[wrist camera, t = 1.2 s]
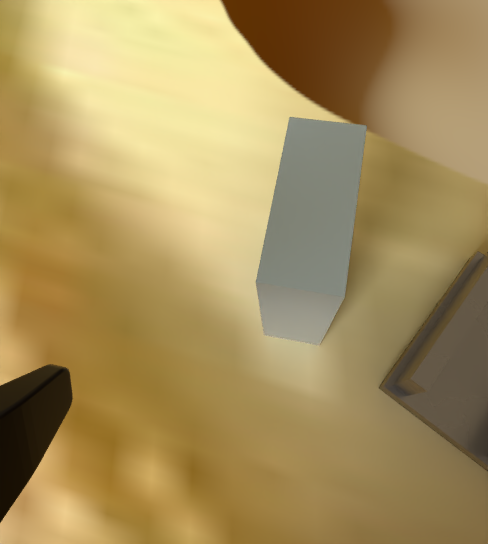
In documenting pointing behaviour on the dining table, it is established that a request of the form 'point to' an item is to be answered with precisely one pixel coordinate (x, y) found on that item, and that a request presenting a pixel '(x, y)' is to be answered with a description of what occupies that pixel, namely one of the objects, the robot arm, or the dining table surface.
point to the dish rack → (451, 365)
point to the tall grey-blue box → (310, 229)
